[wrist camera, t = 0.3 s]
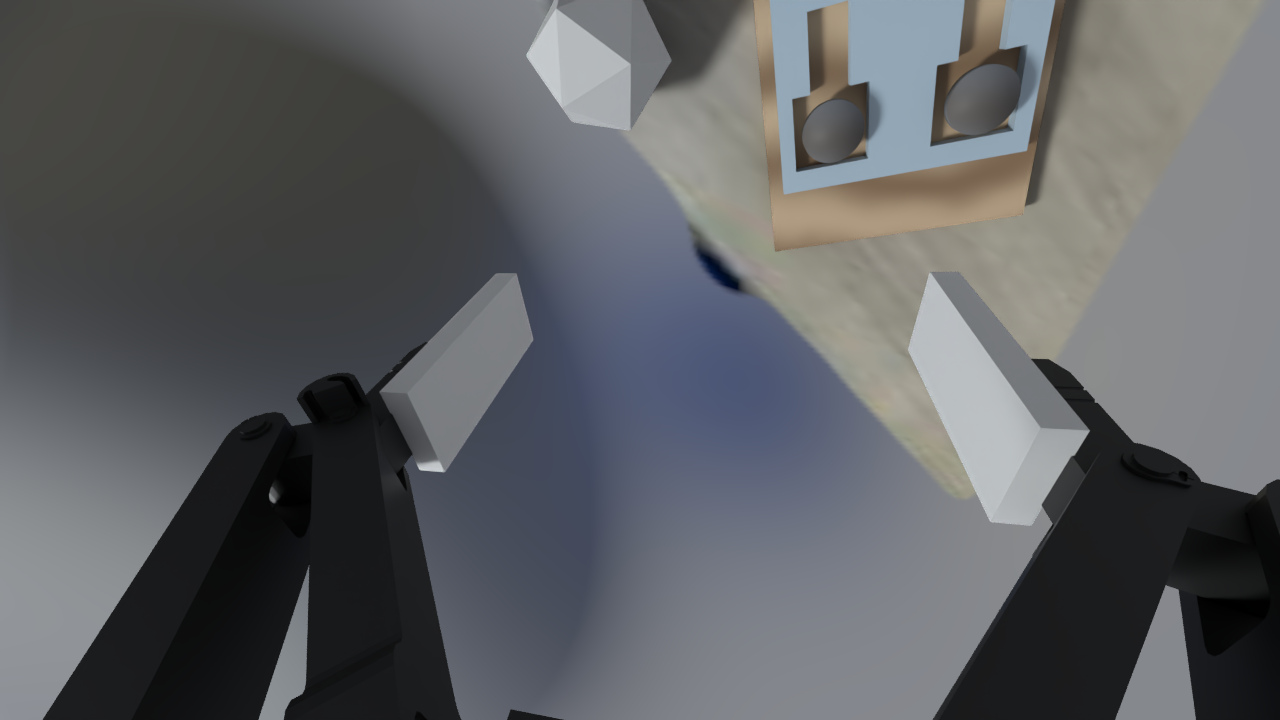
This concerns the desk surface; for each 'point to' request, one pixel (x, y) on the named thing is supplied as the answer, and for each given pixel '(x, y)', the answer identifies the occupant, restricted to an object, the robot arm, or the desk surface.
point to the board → (963, 106)
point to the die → (600, 59)
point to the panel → (902, 83)
